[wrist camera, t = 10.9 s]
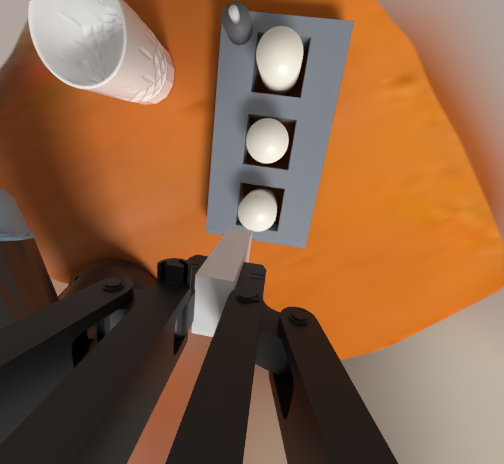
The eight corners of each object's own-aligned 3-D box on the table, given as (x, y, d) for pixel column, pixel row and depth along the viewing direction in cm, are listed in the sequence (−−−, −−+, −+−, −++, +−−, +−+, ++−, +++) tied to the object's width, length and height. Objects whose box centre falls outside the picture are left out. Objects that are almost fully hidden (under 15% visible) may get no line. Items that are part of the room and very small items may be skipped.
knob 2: (258, 92, 26) (253, 78, 21) (263, 48, 25) (259, 23, 20) (295, 96, 26) (298, 83, 21) (302, 52, 25) (307, 28, 20)
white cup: (103, 45, 27) (8, -14, 18) (165, 19, 26) (98, -60, 16) (130, 119, 29) (58, 101, 20) (189, 98, 28) (142, 69, 18)
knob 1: (243, 217, 31) (235, 228, 26) (247, 185, 29) (240, 191, 25) (274, 222, 30) (273, 234, 26) (279, 190, 29) (279, 196, 24)
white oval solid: (250, 159, 28) (243, 160, 24) (254, 122, 27) (248, 115, 22) (284, 164, 28) (284, 166, 23) (290, 126, 27) (292, 120, 22)
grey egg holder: (212, 225, 32) (197, 241, 26) (229, 24, 25) (213, -15, 19) (303, 240, 31) (307, 259, 26) (345, 36, 24) (365, -1, 19)
